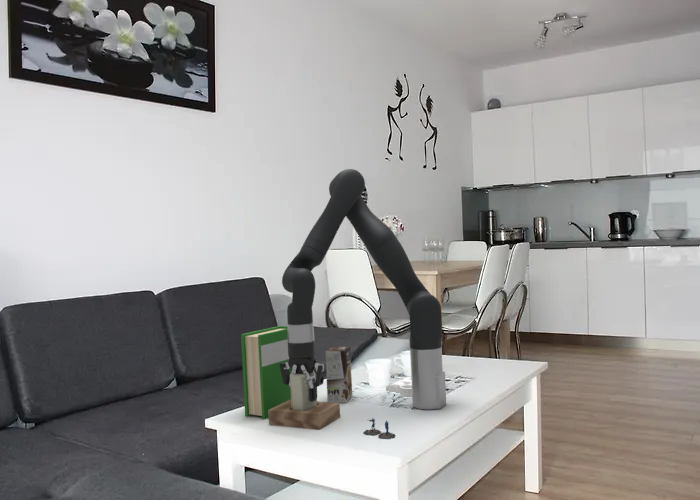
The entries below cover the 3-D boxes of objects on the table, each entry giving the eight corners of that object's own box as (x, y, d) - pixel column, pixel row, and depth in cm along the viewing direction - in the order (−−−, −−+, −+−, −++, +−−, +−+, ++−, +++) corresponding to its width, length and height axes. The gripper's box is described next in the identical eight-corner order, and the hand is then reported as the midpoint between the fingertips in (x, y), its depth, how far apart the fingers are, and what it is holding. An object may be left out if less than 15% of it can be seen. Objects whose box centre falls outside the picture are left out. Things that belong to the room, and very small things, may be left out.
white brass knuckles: (407, 384, 214) (446, 388, 206) (380, 396, 199) (422, 401, 191) (407, 374, 214) (446, 377, 206) (380, 385, 199) (421, 390, 191)
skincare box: (307, 412, 178) (305, 369, 178) (318, 414, 175) (316, 371, 175) (291, 417, 174) (288, 374, 173) (302, 420, 171) (299, 375, 170)
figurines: (401, 436, 157) (400, 419, 157) (388, 441, 154) (387, 423, 154) (371, 429, 164) (370, 413, 164) (358, 434, 161) (358, 417, 161)
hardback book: (264, 419, 178) (260, 335, 177) (245, 416, 182) (240, 334, 181) (302, 404, 193) (298, 326, 192) (283, 402, 197) (279, 325, 196)
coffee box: (347, 403, 191) (344, 350, 191) (327, 403, 192) (324, 350, 192) (353, 395, 200) (350, 345, 200) (333, 395, 201) (331, 345, 201)
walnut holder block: (340, 417, 176) (339, 403, 176) (319, 429, 165) (319, 414, 165) (291, 412, 183) (290, 399, 183) (268, 424, 172) (268, 410, 172)
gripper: (330, 338, 174) (333, 398, 175) (286, 336, 181) (289, 395, 181) (317, 342, 168) (320, 405, 168) (271, 341, 174) (274, 401, 174)
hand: (304, 400), depth 174 cm, fingers closed on skincare box, 5 cm apart
